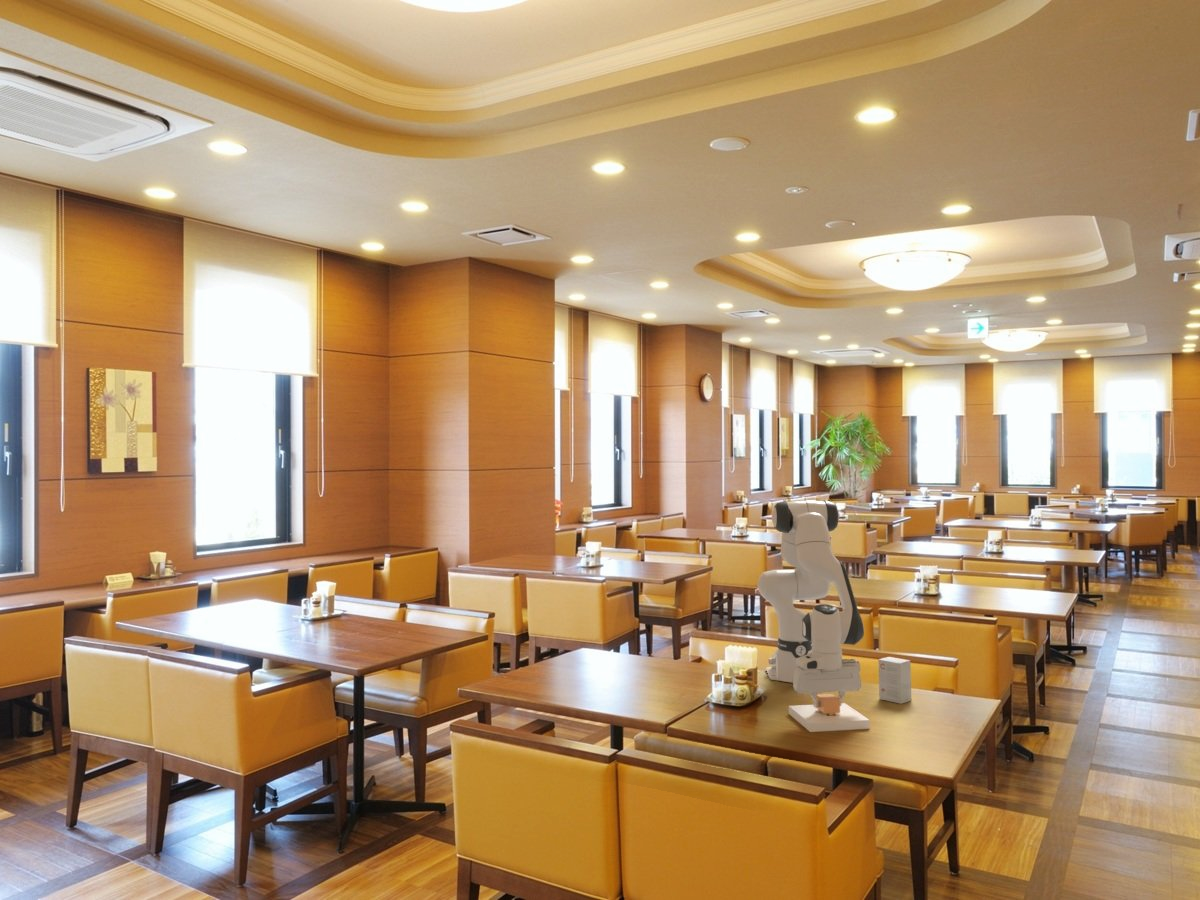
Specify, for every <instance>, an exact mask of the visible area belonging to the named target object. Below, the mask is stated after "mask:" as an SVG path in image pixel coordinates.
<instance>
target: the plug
mask: <svg viewBox="0 0 1200 900" xmlns="http://www.w3.org/2000/svg"><path fill="white" fill-rule="evenodd" d="M815 697H816V699H817V700H819V701H820V702H821V704H820V705H821V707H817V711H818V713H824V714H826V713H828V716H834V713H840V699H839V698H838V696H836V695H834V694H833V693H824V694H823V693H822V694H821V693H820V694H819V693H818V694H817V696H815Z"/></svg>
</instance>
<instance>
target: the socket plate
mask: <svg viewBox="0 0 1200 900" xmlns="http://www.w3.org/2000/svg"><path fill="white" fill-rule="evenodd" d="M788 715H789V716H790V717H792V718H793V719H794V720H795V721H796V722H798V723H799V724H800V725H801V726H802V727H804V728H805V729H806V730H807V731H808V732H810V733H816V732H836V731H837V732H838V731H852V730H853V731H854V730H868V729H869V730H870V727H871V725H870V724H871V723H870V722H871V721H870V719H869V718H867V717H866V716H865V715H863V714H862V713H860V712H858V711H857V710H856V709H854V708H852V707H851V706H850V705H848V704H847V703H846V702H841V706H840V713H834V716H828V713H826V714H824V713H818V711H817V708H816V707H815V706H814V704H801V705H788Z"/></svg>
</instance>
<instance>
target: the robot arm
mask: <svg viewBox="0 0 1200 900" xmlns="http://www.w3.org/2000/svg"><path fill="white" fill-rule="evenodd" d="M839 519H840V513H839V510H838V506H837V505H836V504H835V502H833V501H830V500H829V501H828V500H813V499H804V500H794V501H793V500H791V501H787V500H786V501H784V500H783V501H780V502H776V503H775V505H774V506H773V509H772V512H771V521H772V524H773V527H774V529H775V530H776V531H777V532H780V533H781V542H780V543H781V544H780V545H781V546H780V555H781V559H782V560H784V562H786V564H788V565H790V566H792V567H795V568H793V569H791V568H790V569H771V570H768V571H763V572H762V573H761V574H760V575H759V577H758V578H757V579H758V580H757V590H758V592H759V594H760V596H761V597H762V598H764V599H765V601H767V602H768V603H769V604H770V605H771V606H772V607H773V609H774V611H775V613H776V617H777V620H778V622H777V623H778V634H779V635H778V638H777V641H776V642H777V646H776V648H777V649H776V650H775V651H774V652H773V654H772V655H771V657H769V658H768V665H770V666H766V667H765V672H766V671H767V672H766V674H767V673H768V674H767V676H768V678H769V680H772V681H780V682H785V683H792V684H793V689H794V691H795V692H796V693H798V694H801V695H802V694H809V695H810V697H811V698H812V700H813V705H814V706H815V707H816V708H817V707H821V705H820V704H821V702H820V701H819V700H817V699H816V696H817V695H818V694H819V693H820V694H821V693H837V694H838V696H837V698H839V699H840V706H841V703H842V701H843V699H844V697H845V696H846V692H855V691H856V692H857V691H859V692H860V690H861V689H862V679H861V673H860V672H861V663H860V661H859V660H856V658H851V659H848V658H847V659H846V658H845V659H843V650H842V649H843V648H842V645H850V646H851V645H852V646H854V645H856V644H858V643H859V642H861V640H862V639H863V638H864V635H865V627H864V623H863V619H862V617H861V614H860V612H859V609H858V606H857V603H856V599H855V595H854V592H853V589H852V583H851V581H850V579H849V575H848V572H847V569H846V567H845V565H844V563H843V562H842V561H840V560H838V559H837V558H836V556H835V554H834V552H833V550H832V543H831V536H830V532H832V531H835V529H836V528H838V524H839V521H840V520H839ZM831 583H832V584H833V585H834V586H835V588H836V590H837V591H836V592H837V594H838V598H839V601H840V605H841V608H842V611H840V610H839V608H838V607H836V606H835V605H832V604H827V603H823V604H818V605H815V606H813V608H812V611H811V612H808V613H806V612H804V611H803V610H801V609H799V608H797V607H795V606H794V602H795V601H813V600H819V599H824V598H826V597H827V596H828V595H829V593H830V590H831ZM841 644H842V645H841Z"/></svg>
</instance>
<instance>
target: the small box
mask: <svg viewBox="0 0 1200 900" xmlns="http://www.w3.org/2000/svg"><path fill="white" fill-rule="evenodd" d="M911 666H912V664H911V660H910V659H904V658H899V657H893V656H887V657H883V658H882V657H881V658H879V659H878V689H879V690H878V692H879V693H878V694H879V695H878V696H879V700H883V701H887V702H893V703H897V704H901V705H902V704H905V703H907V702H911V701H912V674H911V668H912V667H911Z"/></svg>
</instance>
